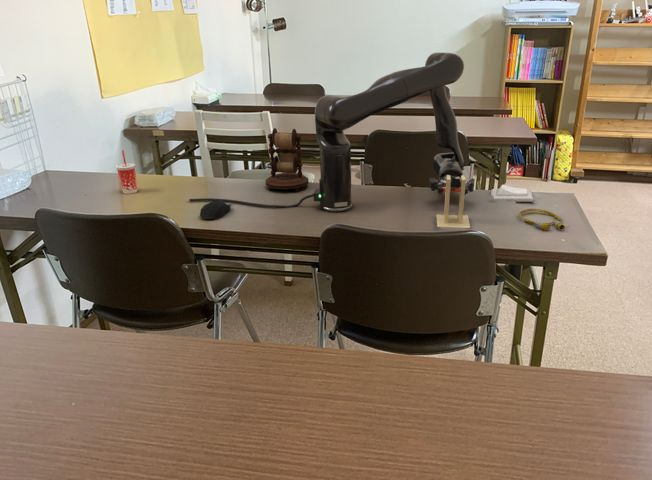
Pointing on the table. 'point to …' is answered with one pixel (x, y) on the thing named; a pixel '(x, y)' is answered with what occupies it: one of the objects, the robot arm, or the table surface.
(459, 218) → the bracket
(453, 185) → the lever
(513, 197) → the light switch
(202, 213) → the gaming mouse
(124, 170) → the beverage cup
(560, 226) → the extension cord
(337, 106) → the robot arm
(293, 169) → the brown spool stand
